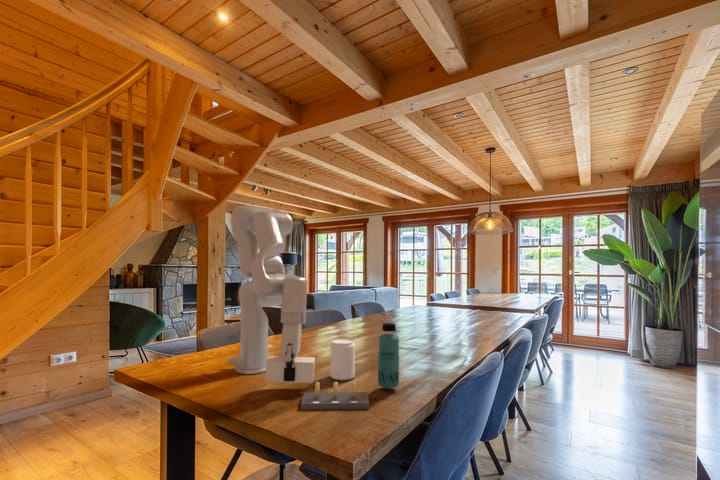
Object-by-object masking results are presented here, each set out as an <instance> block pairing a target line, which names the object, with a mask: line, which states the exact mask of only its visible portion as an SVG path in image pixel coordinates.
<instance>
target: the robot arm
mask: <svg viewBox="0 0 720 480" xmlns="http://www.w3.org/2000/svg"><path fill="white" fill-rule="evenodd" d="M293 221H294V220H293V219H292V216H291V215H290V214H289V213H288V212H286V211H282V210H279V209H276V208H270V207H260V206H253V205H239V206H236V207H235V208H234V209H233V210H232V213H231V218H230V225H231V230H232V234H233V236H234V239H235V241H236V244H237V251H238V259H239V261H238V262H239V268H240V273H241V275H242V276H243V277H244V278H246V279H252V280H250V281H246V282H244V283H243V284H241V286H239V290H238V298H239V305H240V342H239V343H240V345H239V347H240V348H239V356H236V357H234V356H233V357H231V356H230V357H228V358H227V363H228V364H229V365H236V366H234V372H235V373H237V374H242V375H255V374H263V373H266V361H267V360H268V349H269V346H268V344H269V343H268V342H269V318H268V315H267V313H266V311H265V310H264V309H263V308H264V307H273V306H281V307H280V308H281V309H280V323H281V324H283V325H282V333H281V343H280V354H279V356H281V357H282V358H283V357H285V367H284V381H294V380H295V367H294V365H295V358H296V357H299V356H298V355H299V353H300V351H301V343H302V342H301V341H302V330H303V329H302V328H303V327H302V325H303V324H306V320H307V319H306V318H307V302H308V301H307V299H308V298H307V297H308V279H307V278H306V277H303V276H297V275H295V274H294V273H285V266H284V262H283V260H282V258H281V257H280V256H279V255H280V254H282V253H283V252H284V250H285V249H286V247H285V242H284V238H283V236H289V235H290V234H291V233H292V231H293V230H294V229H293V228H294V222H293ZM252 230H254V231H252ZM291 359H293V361H292V360H291ZM292 362H293V363H292Z"/></svg>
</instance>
